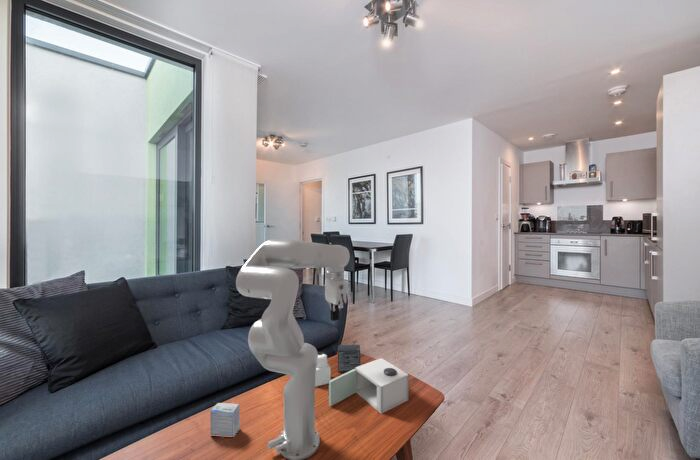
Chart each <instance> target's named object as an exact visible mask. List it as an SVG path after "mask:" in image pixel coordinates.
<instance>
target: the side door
mask: <svg viewBox="0 0 700 460" xmlns="http://www.w3.org/2000/svg"><path fill="white" fill-rule="evenodd" d="M353 394H357V393H356V369H353V370H351V371H349V372H344V373H343V374H342V373H341V374H340V375H339V376H336V377H334V378H331V380H330V381H329V383H328V390H327V395H328V405H329V407H332V406H334V405H336V404H338V403H339V402H341V401H343V400H345V399H346V398H349V397H351V396H352V395H353Z"/></svg>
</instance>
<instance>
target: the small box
mask: <svg viewBox="0 0 700 460" xmlns="http://www.w3.org/2000/svg"><path fill="white" fill-rule="evenodd" d="M358 366H361V345H360V344H338V346H337V373H338V374H339V373H341V374H342V373H343V374H345V373H347V372H349V371H351V370H353V369H355V367H358Z"/></svg>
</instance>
